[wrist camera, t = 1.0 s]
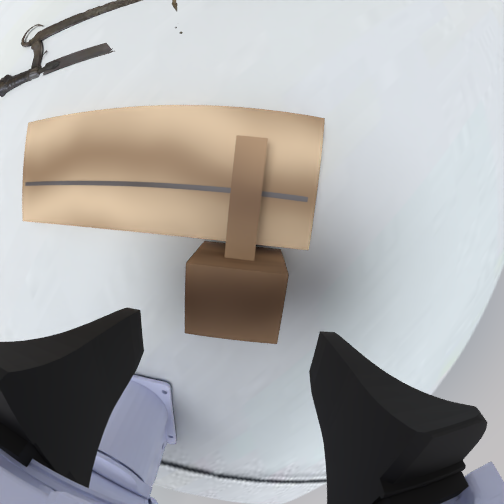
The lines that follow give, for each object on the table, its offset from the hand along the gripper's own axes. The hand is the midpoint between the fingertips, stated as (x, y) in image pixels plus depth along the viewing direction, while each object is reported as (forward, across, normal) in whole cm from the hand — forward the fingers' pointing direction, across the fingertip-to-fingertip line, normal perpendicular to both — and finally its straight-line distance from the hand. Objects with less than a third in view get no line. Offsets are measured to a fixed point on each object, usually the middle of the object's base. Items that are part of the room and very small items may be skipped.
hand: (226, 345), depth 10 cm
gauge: (+9, 0, -3) cm, 9 cm away
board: (+8, +7, -6) cm, 13 cm away
